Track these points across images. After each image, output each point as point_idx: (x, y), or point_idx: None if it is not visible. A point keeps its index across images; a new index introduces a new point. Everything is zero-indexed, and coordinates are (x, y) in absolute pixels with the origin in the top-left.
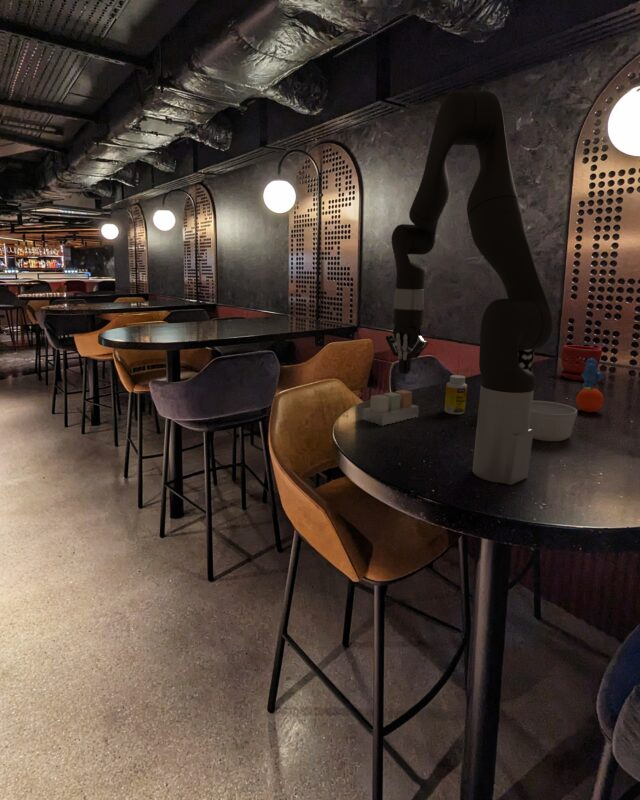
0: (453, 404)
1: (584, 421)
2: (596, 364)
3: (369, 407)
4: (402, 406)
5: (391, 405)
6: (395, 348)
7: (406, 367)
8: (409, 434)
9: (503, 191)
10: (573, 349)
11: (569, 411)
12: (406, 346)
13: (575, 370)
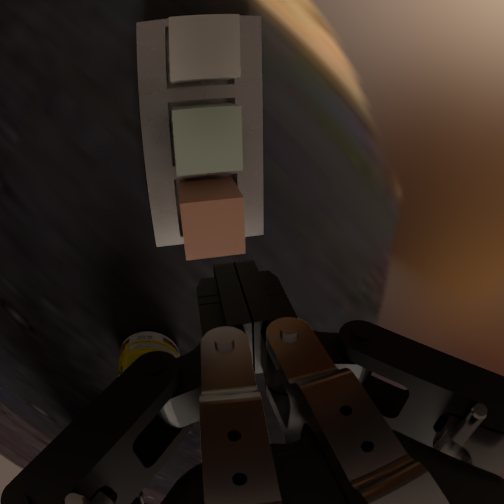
0: (128, 355)
1: (28, 447)
2: None
3: (259, 51)
4: (185, 183)
5: (175, 107)
6: (387, 377)
7: (203, 301)
8: (27, 66)
9: None
10: None
11: None
12: (203, 446)
13: None
